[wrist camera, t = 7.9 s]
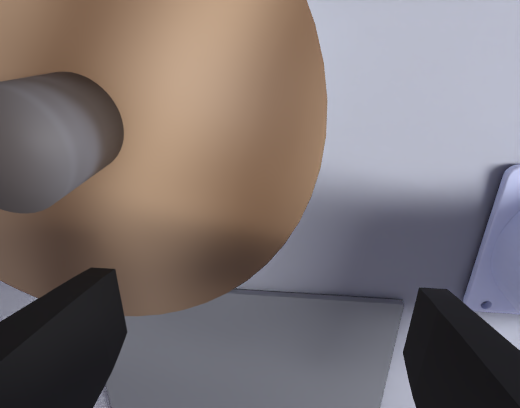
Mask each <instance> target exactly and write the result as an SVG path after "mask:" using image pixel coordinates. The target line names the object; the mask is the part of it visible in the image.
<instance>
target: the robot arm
mask: <svg viewBox="0 0 520 408" xmlns="http://www.w3.org/2000/svg"><path fill="white" fill-rule="evenodd" d="M484 301H487V302H486V303H484V304H482V303H483V302H484ZM474 311H478V312H493V313H508V314H520V164H518V165H513V166H511V167H509V168H508V169H507V170H506V171H505V172H504V174H503V177H502V180H501V183H500V186H499V190H498V193H497V196H496V199H495V202H494V205H493V208H492V211H491V215H490V218H489V221H488V224H487V227H486V230H485V233H484V236H483V240H482V243H481V246H480V249H479V252H478V255H477V258H476V261H475V265H474V268H473V271H472V274H471V277H470V280H469V283H468V286H467V289H466V293H465V296H464V299H463V302H462V301H461V300H460V299H458V298H457V297H456V296H455V295H453V294H452V293H451V292H450V291H448V290H447V289H434V288H419V290H418V294H417V298H416V302H415V306H414V310H413V314H412V318H411V323H410V327H409V331H408V335H407V339H406V343H405V347H404V351H403V355H404V360H405V365H406V370H407V374H408V379H409V383H410V387H411V391H412V396H413V399H414V402H415V405H416V408H520V350H518V349H517V348H516V347H515V346H514V345H512V344H511V343H510V342H509V341H508V340H507V339H505V338H504V337H503V336H502V335H501V334H499V333H498V332H497V331H496V330H495V329H494V328H492V327H491V326H490V325H489V324H488V323H487V322H485V321H484V320H483V319H482V318H481V317H480V316H478V315H477V314H476V313H475V312H474ZM126 335H127V327H126V322H125V317H124V311H123V306H122V301H121V296H120V291H119V286H118V280H117V275H116V270H115V269H109V268H93V267H91V268H89V269H87V270H85V271H84V272H82V273H80V274H78V275H76V276H75V277H73V278H71V279H70V280H68V281H66V282H65V283H63V284H61V285H60V286H58V287H56V288H55V289H53V290H51V291H50V292H48V293H47V294H45V295H43V296H42V297H40V298H38V299H37V300H35V301H34V302H32V303H30V304H29V305H27V306H25V307H24V308H22V309H20V310H19V311H17V312H15V313H14V314H12V315H11V316H9V317H7V318H6V319H4V320H2V321H1V322H0V408H93V407H94V405H95V403H96V401H97V399H98V397H99V396H100V394H101V392H102V390H103V388H104V386H105V384H106V382H107V381H108V379H109V377H110V375H111V373H112V371H113V368H114V366H115V363H116V361H117V359H118V356H119V354H120V351H121V348H122V346H123V343H124V340H125V338H126Z"/></svg>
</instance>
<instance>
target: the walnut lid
mask: <svg viewBox="0 0 520 408" xmlns="http://www.w3.org/2000/svg"><path fill="white" fill-rule="evenodd" d="M326 121H327V93H326V82H325V71H324V62H323V58H322V53H321V49H320V44H319V40H318V35H317V31H316V26H315V23H314V20H313V17H312V14H311V12H310V9H309V6H308V3H307V0H0V280H1V281H2V282H4V283H6V284H8V285H10V286H12V287H14V288H16V289H18V290H20V291H23V292H25V293H27V294H29V295H32V296H34V297H36V298H40V297H42V296H43V295H45V294H47V293H48V292H50V291H51V290H53V289H55V288H56V287H58V286H60V285H61V284H63V283H65V282H66V281H68V280H70V279H71V278H73V277H75V276H76V275H78V274H80V273H82V272H84V271H85V270H87V269H89V268H91V267H93V268H109V269H115V270H116V275H117V280H118V286H119V291H120V296H121V301H122V306H123V311H124V316H148V315H160V314H166V313H171V312H176V311H181V310H185V309H188V308H192V307H195V306H198V305H201V304H204V303H207V302H209V301H211V300H213V299H215V298H218V297H220V296H222V295H224V294H226V293H228V292H230V291H231V290H233V289H234V288H236V287H238V286H239V285H241V284H242V283H244V282H245V281H247V280H248V279H250V278H251V277H252V276H253V275H254V274H256V273H257V272H258V271H259V270H260V269H261V268H263V267H264V266H265V265H266V264H267V263H268V262H269V261H270V260H271V259H272V258H273V256H274V255H275V254H276V253H277V252H278V251H279V250H280V249H281V248H282V246H283V245H284V244H285V242H286V241H287V239H288V238H289V236H290V235H291V233H292V232H293V230H294V229H295V227H296V226H297V224H298V223H299V221H300V219H301V217H302V215H303V213H304V211H305V209H306V207H307V204H308V202H309V200H310V198H311V196H312V193H313V189H314V186H315V183H316V180H317V177H318V174H319V171H320V167H321V161H322V156H323V150H324V144H325V138H326Z"/></svg>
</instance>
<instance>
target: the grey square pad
mask: <svg viewBox="0 0 520 408" xmlns="http://www.w3.org/2000/svg"><path fill="white" fill-rule="evenodd" d="M403 307H404V303H403V301H402V300H397V299H381V298H365V297H350V296H334V295H319V294H303V293H287V292H272V291H256V290H240V289H233V290H231V291H230V292H228V293H226V294H224V295H222V296H220V297H218V298H215V299H213V300H211V301H209V302H207V303H204V304H201V305H198V306H195V307H192V308H188V309H185V310H181V311H176V312H171V313H166V314H160V315H148V316H124V317H125V322H126V327H127V335H126V338H125V340H124V343H123V346H122V348H121V351H120V354H119V356H118V359H117V361H116V363H115V366H114V368H113V371H112V373H111V375H110V377H109V379H108V381H107V382H106V388H107V392H108V396H109V400H110V404H111V408H380V406H381V402H382V397H383V393H384V389H385V384H386V380H387V376H388V371H389V367H390V363H391V359H392V354H393V350H394V346H395V341H396V337H397V333H398V329H399V324H400V320H401V316H402V311H403Z"/></svg>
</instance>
